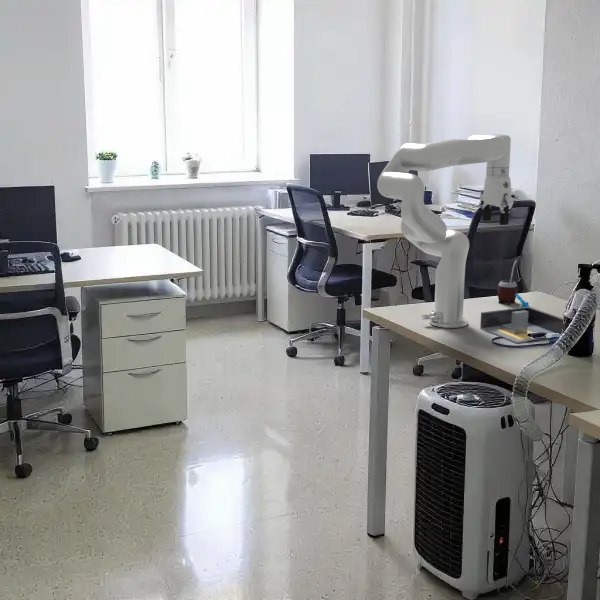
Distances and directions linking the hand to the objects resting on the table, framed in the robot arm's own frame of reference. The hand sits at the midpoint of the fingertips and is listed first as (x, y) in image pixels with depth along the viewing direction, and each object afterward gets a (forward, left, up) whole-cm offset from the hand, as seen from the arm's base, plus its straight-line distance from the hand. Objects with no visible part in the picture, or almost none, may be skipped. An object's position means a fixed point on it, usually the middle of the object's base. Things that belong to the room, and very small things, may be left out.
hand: (495, 222), depth 308 cm
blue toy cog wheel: (+11, -5, -33) cm, 35 cm away
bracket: (-7, -22, -32) cm, 39 cm away
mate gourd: (+16, +12, -32) cm, 38 cm away
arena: (-5, -24, -32) cm, 41 cm away
